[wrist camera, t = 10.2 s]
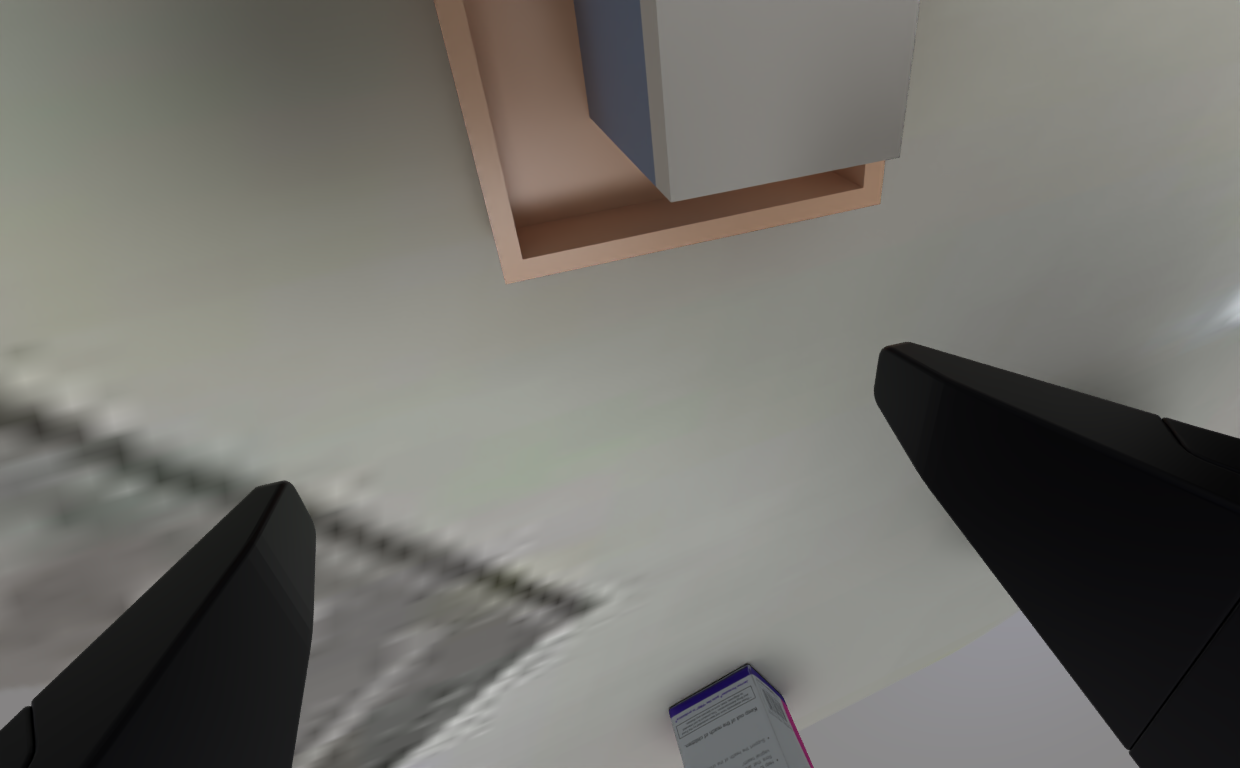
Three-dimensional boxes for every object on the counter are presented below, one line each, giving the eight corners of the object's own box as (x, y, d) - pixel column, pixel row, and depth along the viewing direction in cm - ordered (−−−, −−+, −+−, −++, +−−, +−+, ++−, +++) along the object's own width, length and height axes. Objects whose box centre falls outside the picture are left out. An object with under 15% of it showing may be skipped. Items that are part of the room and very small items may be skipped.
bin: (828, 175, 21) (880, 204, 19) (498, 244, 20) (505, 284, 17) (858, -303, 15) (942, -359, 12) (375, -247, 14) (358, -296, 11)
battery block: (739, 90, 18) (899, 157, 12) (589, 116, 18) (671, 202, 11) (737, -103, 16) (940, -153, 9) (562, -79, 15) (647, -112, 9)
